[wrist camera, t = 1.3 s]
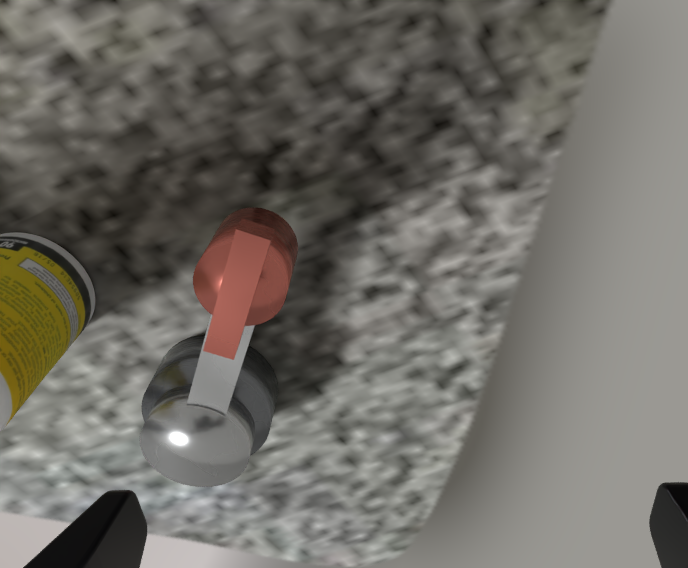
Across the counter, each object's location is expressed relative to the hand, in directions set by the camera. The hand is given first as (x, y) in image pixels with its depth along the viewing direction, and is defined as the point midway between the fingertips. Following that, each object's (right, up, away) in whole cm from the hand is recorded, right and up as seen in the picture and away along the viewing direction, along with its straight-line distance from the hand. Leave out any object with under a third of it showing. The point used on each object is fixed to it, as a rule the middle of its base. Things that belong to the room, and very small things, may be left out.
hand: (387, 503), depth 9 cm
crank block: (-6, -1, +15) cm, 16 cm away
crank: (-5, +1, +11) cm, 12 cm away
